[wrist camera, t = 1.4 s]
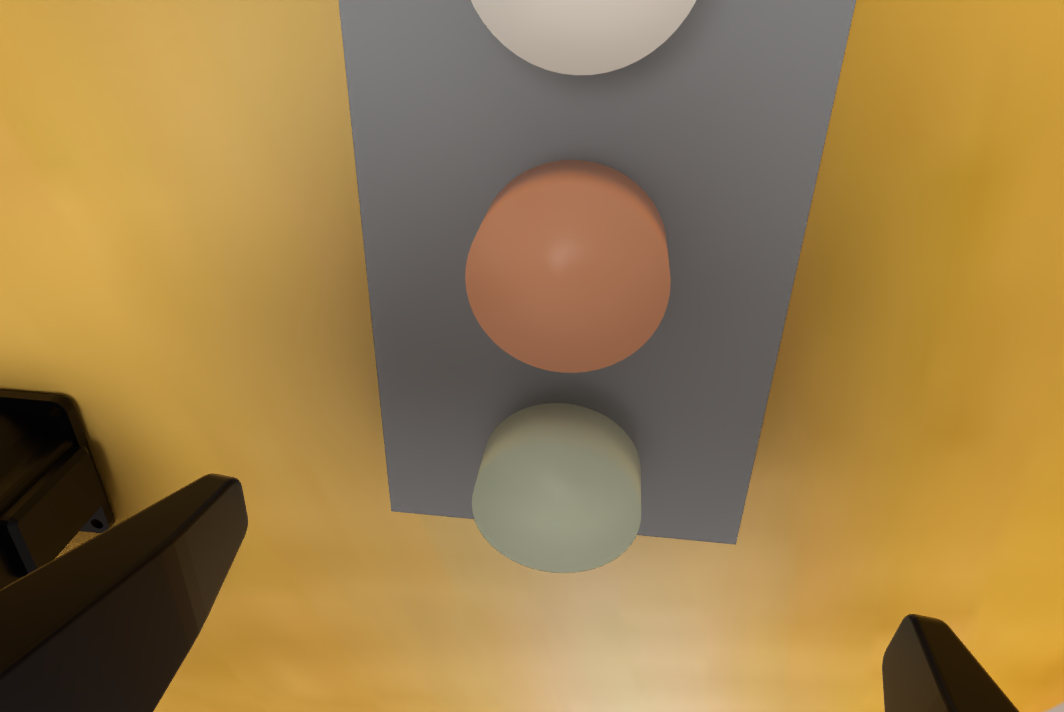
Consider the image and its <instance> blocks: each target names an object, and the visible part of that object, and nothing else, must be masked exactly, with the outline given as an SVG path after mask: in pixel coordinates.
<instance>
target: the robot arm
mask: <svg viewBox="0 0 1064 712" xmlns="http://www.w3.org/2000/svg"><path fill="white" fill-rule="evenodd" d="M58 409H59V410H58ZM114 522H115V518H114V515H113V513H112V510H111V507H110V504H109V502H108V499H107V496H106V493H105V491H104V488H103V485H102V482H101V479H100V477H99V474H98V471H97V468H96V466H95V463H94V460H93V457H92V455H91V452H90V449H89V446H88V444H87V441H86V438H85V435H84V432H83V430H82V427H81V424H80V421H79V419H78V416H77V413H76V410H75V408H74V406H73V404H72V403H71V402H70V401H69V400H68V399H67V398H65V397H63V396H60V395H52V394H40V393H29V392H17V391H6V390H0V712H153V711H154V709H155V708H156V706H157V704H158V703H159V701H160V699H161V698H162V696H163V694H164V693H165V691H166V689H167V688H168V686H169V684H170V683H171V681H172V679H173V677H174V676H175V674H176V672H177V671H178V669H179V667H180V666H181V664H182V662H183V661H184V659H185V657H186V656H187V654H188V652H189V651H190V649H191V647H192V645H193V644H194V642H195V640H196V638H197V637H198V635H199V633H200V631H201V629H202V627H203V625H204V623H205V621H206V619H207V617H208V615H209V613H210V610H211V608H212V606H213V604H214V602H215V600H216V597H217V595H218V593H219V591H220V589H221V587H222V584H223V582H224V580H225V578H226V576H227V574H228V571H229V569H230V567H231V565H232V563H233V561H234V558H235V556H236V554H237V552H238V550H239V547H240V545H241V543H242V541H243V539H244V537H245V534H246V531H247V526H248V516H247V511H246V506H245V501H244V496H243V491H242V486H241V483H240V482H239V480H238V479H236V478H234V477H229V476H224V475H219V474H208V475H205V476H203V477H201V478H199V479H198V480H196V481H194V482H192V483H190V484H189V485H187V486H185V487H183V488H181V489H180V490H178V491H176V492H174V493H173V494H171V495H169V496H167V497H165V498H164V499H162V500H160V501H158V502H156V503H155V504H153V505H151V506H149V507H147V508H146V509H144V510H142V511H140V512H138V513H137V514H135V515H133V516H131V517H130V518H128V519H126V520H124V521H122V522H121V523H119V524H117V525H115V526H113V527H112V525H113V524H114ZM111 527H112V528H111ZM79 531H86V532H95V533H101V534H99V535H97V536H96V537H94V538H92V539H90V540H88V541H87V542H85V543H83V544H81V545H79V546H78V547H76V548H74V549H72V550H70V551H69V552H67V553H65V554H63V555H61V556H60V557H58V558H56V557H57V555H58V554H59V553H60V552H61V551H62V550H63V549H64V548H65V546H66V545H67V544H68V543H69V542H70V541H71V540H72V539H73V537H74V536H75V535H76V534H77V533H78V532H79ZM55 558H56V559H55ZM882 674H883V690H884V705H885V712H1019V711H1018V709H1017V708H1016V707H1015V706H1014V705H1013V703H1012V702H1011V701H1010V700H1009V699H1008V697H1007V696H1006V695H1005V694H1004V692H1003V691H1002V690H1001V689H1000V688H999V686H998V685H997V684H996V683H995V682H994V680H993V679H992V678H991V677H990V676H989V674H988V673H987V672H986V671H985V669H984V668H983V667H982V666H981V665H980V663H979V662H978V661H977V660H976V659H975V657H974V656H973V655H972V654H971V653H970V651H969V650H968V649H967V648H966V646H965V645H964V644H963V643H962V642H961V640H960V639H959V638H958V637H957V636H956V634H955V633H954V632H953V631H952V630H951V628H950V627H949V626H948V625H947V624H946V623H945V622H943V621H942V620H939V619H936V618H931V617H926V616H921V615H916V614H909V615H907V616H906V617H905V618H904V619H903V620H902V622H901V624H900V626H899V627H898V629H897V631H896V633H895V635H894V636H893V638H892V640H891V642H890V644H889V645H888V647H887V649H886V651H885V654H884V657H883V664H882Z"/></svg>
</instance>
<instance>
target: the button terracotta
mask: <svg viewBox="0 0 1064 712" xmlns="http://www.w3.org/2000/svg"><path fill="white" fill-rule="evenodd" d="M465 282H466V291H467V295H468V300H469V303H470V306H471V308H472V311H473V314H474V315H475V317H476V319H477V321H478V323H479V324H480V326H481V327H482V329H483V330H484V331H485V333H486V334H487V335H488V336H489V337H490V338H491V339H492V341H493V342H494V343H495V344H497V345H498V346H499V347H500V348H501V349H503V350H504V351H505V352H507V353H508V354H510V355H511V356H513V357H514V358H516V359H518V360H520V361H522V362H524V363H526V364H529V365H531V366H534V367H537V368H540V369H544V370H548V371H555V372H562V373H578V372H588V371H593V370H598V369H602V368H605V367H608V366H611V365H613V364H615V363H617V362H619V361H622V360H623V359H625V358H627V357H628V356H630V355H631V354H633V353H634V352H635V351H637V350H638V349H639V348H640V347H642V346H643V345H644V344H645V343H646V342H647V340H648V339H649V338H650V337H651V336H652V335H653V333H654V332H655V330H656V329H657V328H658V326H659V324H660V322H661V320H662V318H663V316H664V314H665V311H666V308H667V305H668V301H669V296H670V284H671V278H670V268H669V258H668V248H667V238H666V232H665V228H664V224H663V221H662V219H661V216H660V214H659V212H658V210H657V208H656V206H655V205H654V203H653V201H652V200H651V199H650V198H649V196H648V195H647V194H646V192H645V191H644V190H643V189H642V188H641V187H640V186H639V185H638V184H637V183H635V182H634V181H633V180H631V179H630V178H629V177H627V176H626V175H624V174H622V173H620V172H619V171H617V170H615V169H613V168H610V167H608V166H605V165H602V164H598V163H595V162H591V161H583V160H560V161H553V162H549V163H545V164H541V165H538V166H536V167H533V168H531V169H529V170H527V171H525V172H523V173H522V174H520V175H518V176H517V177H515V178H514V179H513V180H512V181H510V182H509V183H508V184H507V185H506V186H505V187H504V188H503V189H502V190H501V191H500V192H499V193H498V195H497V196H496V197H495V199H494V200H493V202H492V203H491V205H490V207H489V209H488V211H487V213H486V215H485V217H484V219H483V221H482V223H481V225H480V227H479V230H478V232H477V234H476V236H475V238H474V240H473V242H472V245H471V248H470V251H469V253H468V258H467V263H466V273H465Z"/></svg>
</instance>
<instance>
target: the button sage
mask: <svg viewBox="0 0 1064 712" xmlns="http://www.w3.org/2000/svg"><path fill="white" fill-rule="evenodd" d="M472 511H473V516H474V519H475V522H476V524H477V526H478V529H479V530H480V532H481V533H482V535H483V536H484V538H485V539H486V540H487V541H488V542H489V544H491V545H492V546H493V547H494V548H495V549H496V550H497V551H499V552H500V553H501V554H503V555H504V556H506V557H507V558H509V559H511V560H512V561H515V562H517V563H519V564H521V565H524V566H526V567H529V568H532V569H536V570H541V571H546V572H553V573H574V572H582V571H587V570H591V569H595V568H597V567H600V566H603V565H605V564H607V563H609V562H611V561H613V560H614V559H616V558H617V557H619V556H620V555H621V554H622V553H623V552H624V551H626V550H627V548H628V547H629V546H630V545H631V544H632V542H633V540H634V539H635V537H636V535H637V533H638V530H639V527H640V522H641V466H640V459H639V455H638V452H637V450H636V447H635V445H634V443H633V442H632V440H631V439H630V437H629V436H628V435H627V433H626V432H625V431H624V430H623V429H622V428H621V427H620V426H619V425H617V424H616V423H615V422H614V421H612V420H611V419H609V418H608V417H606V416H605V415H603V414H601V413H599V412H597V411H594V410H591V409H589V408H586V407H582V406H578V405H573V404H565V403H548V404H540V405H535V406H531V407H528V408H525V409H522V410H520V411H518V412H516V413H514V414H512V415H511V416H509V417H507V418H506V419H505V420H504V421H502V422H501V423H500V424H499V425H498V426H497V427H496V428H495V430H494V431H493V432H492V434H491V435H490V437H489V439H488V441H487V444H486V447H485V450H484V454H483V458H482V461H481V465H480V469H479V472H478V476H477V480H476V483H475V487H474V491H473V495H472Z"/></svg>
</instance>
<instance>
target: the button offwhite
mask: <svg viewBox="0 0 1064 712" xmlns="http://www.w3.org/2000/svg"><path fill="white" fill-rule="evenodd" d="M471 2H472V4H473V6H474V8H475V10H476V11H477V13H478V15H479V16H480V18H481V20H482V21H483V23H484V24H485V25H486V26H487V28H488V29H489V30H490V31H491V33H492V34H493V35H494V36H495V37H496V38H497V39H498V40H499V41H500V42H501V43H502V44H503V45H504V46H505V47H506V48H508V49H509V50H510V51H512V52H513V53H514V54H516V55H517V56H519V57H520V58H522V59H524V60H526V61H527V62H529V63H531V64H533V65H535V66H538V67H540V68H543V69H545V70H549V71H553V72H557V73H561V74H569V75H595V74H601V73H607V72H611V71H614V70H617V69H621V68H624V67H626V66H628V65H630V64H632V63H635V62H637V61H639V60H640V59H642V58H643V57H645V56H647V55H648V54H650V53H651V52H653V51H654V50H655V49H657V48H658V47H659V46H660V45H661V44H663V43H664V42H665V41H666V40H667V39H668V38H669V37H670V36H671V35H672V34H673V33H674V32H675V31H676V30H677V29H678V27H679V26H680V25H681V23H682V22H683V21H684V19H685V18H686V17H687V15H688V14H689V12H690V11H691V9H692V7H693V6H694V4H695V2H696V0H471Z"/></svg>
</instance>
